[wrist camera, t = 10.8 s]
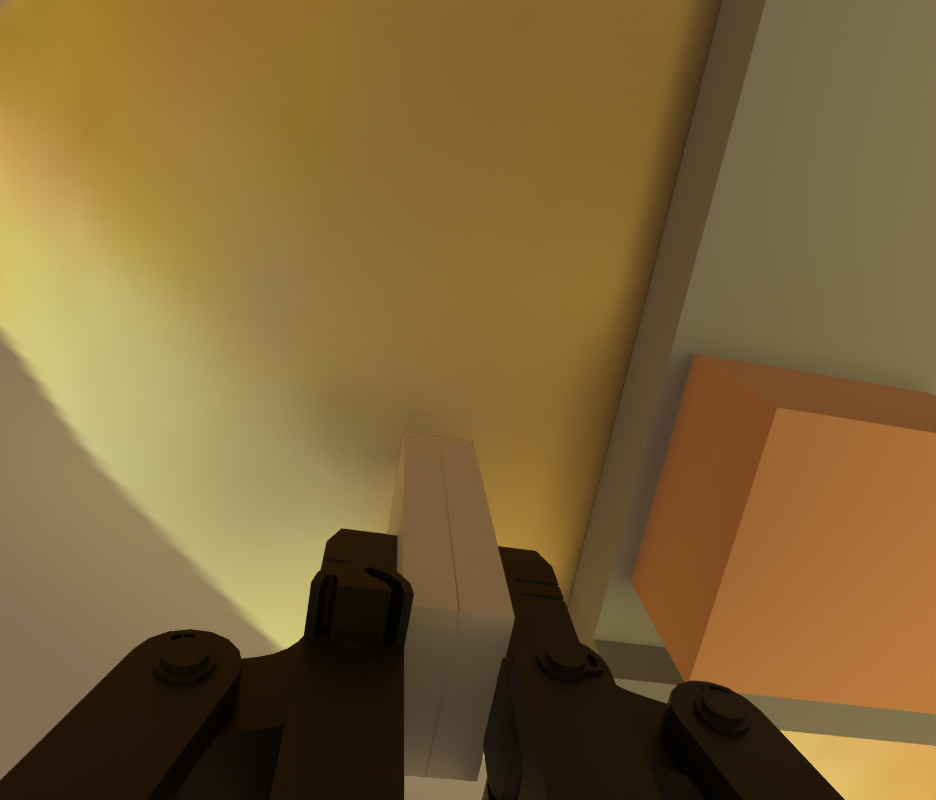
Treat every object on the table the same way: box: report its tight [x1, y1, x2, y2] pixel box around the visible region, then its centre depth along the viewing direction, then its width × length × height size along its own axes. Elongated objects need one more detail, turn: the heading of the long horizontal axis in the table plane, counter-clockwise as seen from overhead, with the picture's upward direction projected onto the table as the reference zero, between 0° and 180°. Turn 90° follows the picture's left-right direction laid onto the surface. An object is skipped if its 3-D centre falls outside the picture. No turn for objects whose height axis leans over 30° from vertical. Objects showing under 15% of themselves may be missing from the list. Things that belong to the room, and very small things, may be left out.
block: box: [630, 353, 936, 714], centre depth 16 cm, size 6×6×4 cm
